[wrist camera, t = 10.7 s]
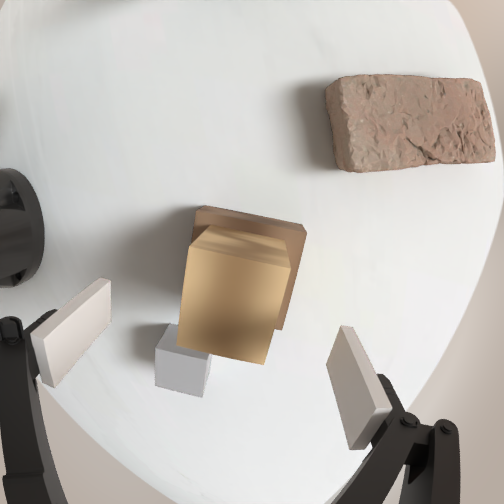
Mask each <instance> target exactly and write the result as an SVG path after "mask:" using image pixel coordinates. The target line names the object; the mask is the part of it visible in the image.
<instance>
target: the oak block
mask: <svg viewBox="0 0 504 504" xmlns="http://www.w3.org/2000/svg"><path fill="white" fill-rule="evenodd" d="M290 271H291V266H290V262H289V257H288V253H287V249H286V244H285V240H280V239H276V238H271V237H267V236H262V235H257V234H253V233H248V232H244V231H239V230H234V229H230V228H225V227H220V226H216V225H210V226H209V227H208V228H207V229H206V230H205V231H204V232H203V233H202V234H201V235H200V236H199V237H198V238H197V239H196V240H195V241H194V242H193V243H192V244H191V245H190V246H189V250H188V256H187V263H186V270H185V277H184V284H183V292H182V299H181V307H180V316H179V324H178V333H177V343H176V345H177V346H181V347H184V348H188V349H192V350H196V351H200V352H205V353H209V354H213V355H218V356H222V357H227V358H231V359H236V360H241V361H246V362H251V363H256V364H261V365H264V363H265V359H266V356H267V353H268V349H269V346H270V342H271V339H272V336H273V332H274V329H275V325H276V322H277V318H278V315H279V311H280V307H281V304H282V300H283V297H284V293H285V289H286V286H287V282H288V278H289V274H290Z"/></svg>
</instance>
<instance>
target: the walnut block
mask: <svg viewBox="0 0 504 504" xmlns="http://www.w3.org/2000/svg"><path fill="white" fill-rule="evenodd" d="M210 225H216V226H220V227H225V228H230V229H234V230H239V231H244V232H248V233H253V234H257V235H262V236H267V237H271V238H276V239H280V240H285V244H286V249H287V253H288V257H289V262H290V266H291V271H290V274H289V278H288V282H287V286H286V289H285V293H284V297H283V300H282V304H281V307H280V311H279V315H278V318H277V322H276V325H275V329H277V330H282V328H283V325H284V321H285V317H286V314H287V310H288V306H289V303H290V299H291V295H292V291H293V287H294V284H295V280H296V276H297V272H298V268H299V264H300V260H301V256H302V252H303V248H304V243H305V239H306V235H307V232H306V230H305V229H304V227H303V225H302V224H297V223H292V222H288V221H283V220H278V219H273V218H268V217H263V216H258V215H253V214H248V213H243V212H238V211H233V210H227V209H222V208H217V207H211V206H206V205H205V206H203V207H202V208H200V209H198V210H196V215H195V221H194V228H193V235H192V241H191V244H192V243H193V242H194V241H195V240H196V239H197V238H198V237H199V236H200V235H201V234H202V233H203V232H204V231H205V230H206V229H207V228H208V227H209V226H210Z"/></svg>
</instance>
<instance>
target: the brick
mask: <svg viewBox="0 0 504 504" xmlns="http://www.w3.org/2000/svg"><path fill="white" fill-rule="evenodd" d="M325 99H326V109H327V111H328V114H329V119H330V122H331V129H332V131H333V136H332V137H333V142H334V143H333V152H334V155H335V160H336V164H337V166H338V168H339V169H341V170H345V171H347V172H357V173H363V172H376V171H386V170H399V169H405V168H409V167H418V166H421V165H431V164H439V163H442V164H461V163H463V164H470V163H488V162H493V161H495V156H496V151H495V144H494V143H495V138H494V133H493V128H492V122H491V117H490V113H489V110H488V107H487V104H486V101H485V98H484V94H483V90H482V86H481V83H480V82H478V81H475V80H473V79H468V78H456V79H454V78H428V77H422V76H412V75H390V74H384V75H379V74H375V75H356V76H345V77H342V78H339V79H338V80H336V81H334V82H333V83H332V84H331V85H330V86H328V87H327V88H326V90H325Z"/></svg>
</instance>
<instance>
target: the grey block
mask: <svg viewBox="0 0 504 504" xmlns="http://www.w3.org/2000/svg"><path fill="white" fill-rule="evenodd" d="M177 333H178V325H175V324H171V323H170V324H169V326H168V327H167V329H166V331H165V332H164V334H163V336H162V337H161V339H160V341H159V342H158V344H157V346H156V347H155V386H158V387H161V388H165V389H169V390H173V391H177V392H181V393H185V394H189V395H193V396H198V397H203V393H204V389H205V386H206V382H207V378H208V375H209V371H210V366H211V359H212V354H209V353H205V352H200V351H196V350H192V349H188V348H184V347H181V346H177V345H176V343H177Z"/></svg>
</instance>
